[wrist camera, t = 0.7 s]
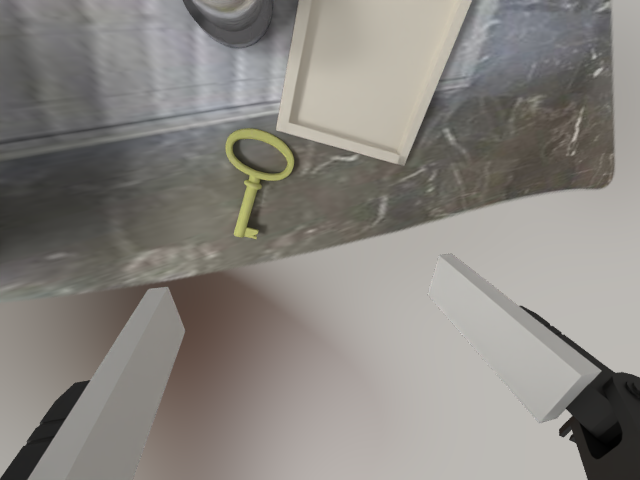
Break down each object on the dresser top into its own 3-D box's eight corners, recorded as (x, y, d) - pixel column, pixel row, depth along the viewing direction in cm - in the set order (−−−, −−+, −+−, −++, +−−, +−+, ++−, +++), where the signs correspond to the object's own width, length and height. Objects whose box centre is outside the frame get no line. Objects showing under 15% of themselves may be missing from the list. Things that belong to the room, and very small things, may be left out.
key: (235, 233, 30) (233, 241, 28) (224, 126, 25) (220, 127, 23) (292, 232, 32) (294, 239, 30) (294, 130, 26) (296, 132, 24)
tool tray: (275, 129, 25) (276, 130, 24) (318, -112, 18) (322, -129, 17) (397, 163, 29) (403, 165, 28) (471, -20, 22) (483, -28, 21)
